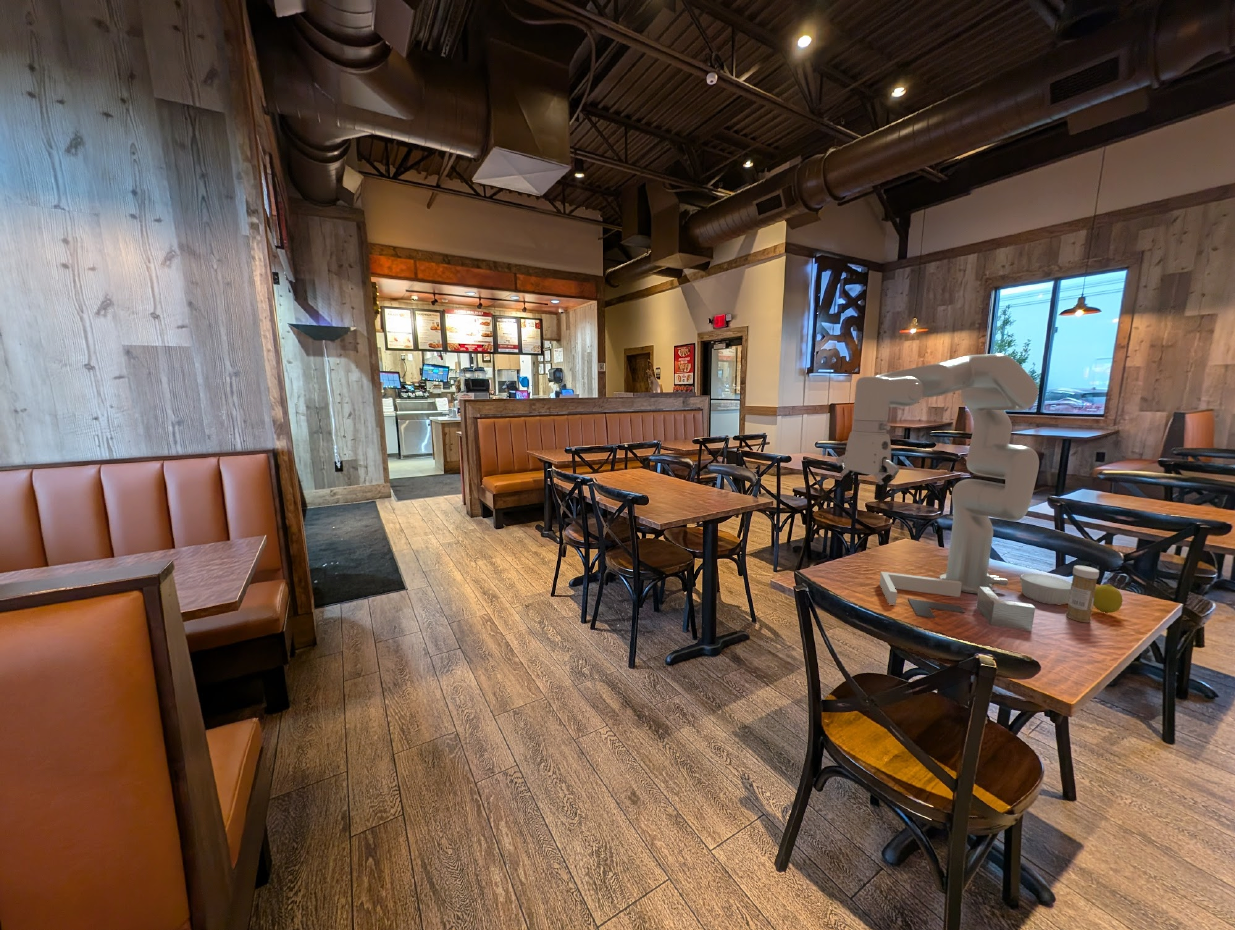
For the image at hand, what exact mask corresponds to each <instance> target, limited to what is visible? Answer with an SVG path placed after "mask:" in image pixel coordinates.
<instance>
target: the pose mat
mask: <svg viewBox="0 0 1235 930" xmlns="http://www.w3.org/2000/svg"><path fill="white" fill-rule="evenodd" d="M907 600H908V602H909V605H910V606H911V608H912V609H913V612H914V613H915V615H916V616H917V617H924V618H929V619H930V618H931V619H936V616H935V614H934V613H933V611H932V609H933V610H939V611H946V612H952V613H960V614H965V613H966V611H965V610H964V609H963V608H962V607H961V605H960V604H959V605H958V604H951V603H945V602H944V603H943V602H936V601H935V602H934V601H929V600H922V599H916V598H915V599H913V598H907Z"/></svg>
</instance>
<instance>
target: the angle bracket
mask: <svg viewBox="0 0 1235 930" xmlns="http://www.w3.org/2000/svg"><path fill="white" fill-rule="evenodd" d="M975 607H976V609H977V610H978V612H979V613H980V614H981V615H982V616H983V618H985V620H986V621H987V622H988V624H990V626H994V627H1001V628H1009V629H1014V630H1021V631H1027V632H1032V631H1033V625H1034V624H1033V623H1034V618H1035V612H1036V607H1035V606H1034V605H1033V604H1032V603H1026V602H1018V601H1017V602H1016V601H1009V600H1002V599H1000V597H998V596H997V594H996V593H995V592H994V591H993V590H992V591H991V590H990V588H989V587H981V586H979V592H978V594H977V601H976V606H975Z"/></svg>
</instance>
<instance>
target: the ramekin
mask: <svg viewBox="0 0 1235 930" xmlns="http://www.w3.org/2000/svg"><path fill="white" fill-rule="evenodd" d="M1019 579H1020V582H1021V583H1020V584H1021V585H1020V586H1021V592H1022V594H1023V596H1025V598H1028V599H1030V600H1032V599H1033V601H1035V602H1038V601H1039V602H1038V603H1041V602H1042V603H1043V604H1045V603H1048V604H1047V605H1051V604H1064V605H1066V604H1068V602H1069V596H1070V590H1071V584H1072V582H1071V581H1068V580H1066V579H1063V578H1059V577H1056V576H1052V575H1048V574H1044V573H1043V574H1042V573H1030V572H1029V573H1023V574H1021V575H1020V577H1019Z"/></svg>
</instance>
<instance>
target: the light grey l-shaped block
mask: <svg viewBox="0 0 1235 930" xmlns="http://www.w3.org/2000/svg"><path fill="white" fill-rule="evenodd" d="M961 585H962V583H961V582H960V581H953V580H945V579H939V578H935V577H927V576H920V575H910V574H905V573H904V574H903V573H897V572H896V573H894V572H887V571H880V576H879V586H880V588H882V589H881V591H882V593H883V596H884V595H885V596H884V598H885V599H887V600H886V602H887V601H888V602H887V604H888V603H889V604H892V605H895V606H894V607H897V600H898V599H897V597H898V591H897V590H904V591H911V592H919V593H926V594H927V593H928V594H934V595H940V596H942V595H943V596H948V597H949V596H950V597H956V598H961V593H962V591H961ZM895 588H896V589H895ZM889 604H888V605H889Z"/></svg>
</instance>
